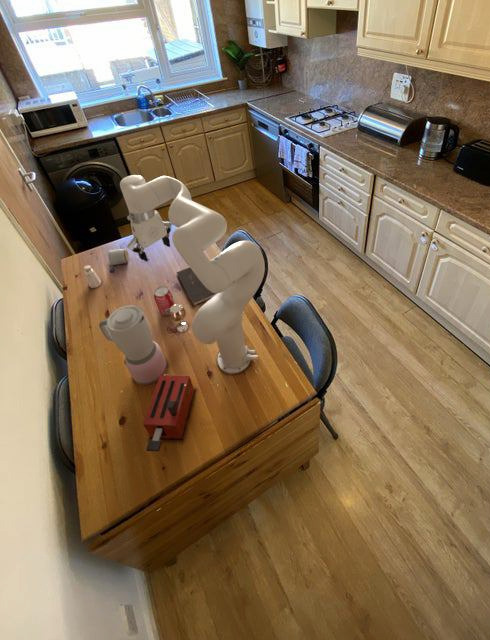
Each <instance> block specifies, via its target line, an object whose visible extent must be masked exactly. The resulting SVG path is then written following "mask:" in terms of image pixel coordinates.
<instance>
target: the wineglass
mask: <svg viewBox="0 0 490 640" xmlns="http://www.w3.org/2000/svg"><path fill="white" fill-rule="evenodd" d="M186 314H187V313H186V310H185V308H184V306H183V305H182V304H181V303H175V304H174V305H172V306H171V308H170V314H169V315H170V318H171V319H172V321H173V322H179V324H178V325H177V327H176V330H177V331H178V332H179V333H183V332H185V331H187V330H188V328H189V325H188V323H187V322H182V321H183V320H184V319H185V318H186Z"/></svg>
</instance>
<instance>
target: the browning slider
mask: <svg viewBox="0 0 490 640" xmlns="http://www.w3.org/2000/svg"><path fill="white" fill-rule="evenodd" d="M167 408H168V410H169V412H170V414H174V415H176V412H177V409H178V408H177V405H176V403H175V401H169V403H168V407H167Z"/></svg>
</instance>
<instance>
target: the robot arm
mask: <svg viewBox="0 0 490 640" xmlns="http://www.w3.org/2000/svg"><path fill="white" fill-rule="evenodd" d="M119 188H120V191H121V193H122V197H123V199H124V202H125V204H126V207H127V209H128V214H129V215H127V216H126V219H127V220H128V221H130V228H131V232H132V236H133V238H132V239H131V240H130V241H129V243H128V244H127V245H126V248H127V249H128V250H130V251H132V252H133V253H137V254H138V257H139V259H140V260H142V261H144V262H149V261H148V260H149V259H148V256H147V253H146V252H145V248H149V247H150V246H152V245H154V244H155V243H157V242H158V241H160V240H161V241H162V244H163V245H164V246H166V247H167V248H170V247H171V240H170V238H169V237H170V233H171V231H172V229H171V228H172V225H173V226H175V227H176V229H174V231H173V232H172V234H171V235H172V236H171V238H172V244H173V246H174V248H175V249H176V251H177V252H178V254H179V256H181V258H182V259H183V261H184V262H185V263H186V264H187V265H188V268H189V267H190V268H191V269H192V271H193V272H194V273H195V275H196V276H197V277H198V279H199V280H200V281H201V282H202V284H203V285H204V286H205V287H206V288H207V289H208V290H209V291H211V292H213V293H217V294H216V295H215V296H213V297H212V298H211V299H209V300H207V301H205V302H204V304H202V306H201V307H199V309H198V310H197V312H196V314H195V316H194V318H193V320H192V324H191V329H192V330H191V331H192V333H193V335H194V337H195V338H196V339H197V341H199V342H200V343H201V344H204V345H212V344H215V343H217V347H218V351H219V352H218V355H217V366H218V367H219V369H220V370H221V371H222V372H224V373H225V374H230V375H231V374H232V375H233V374H240V373H241V372H243V371H245V369H247V368H248V366H250V364H251V361H254V362H255V361H257V362H258V361H259V355H258V354H256V353H257V350H256V349H250V348H249V347H248V345H246V342H245V335H244V329H243V316H244V311H245V309H246V308H247V306H248V304H249V303H250V302H251V301H252V299H253V297H254V295H256V293H257V292H258V290H259V288H260V287H261V284H262V282H263V279H264V276H265V271H266V266H265V265H266V264H265V259H264V256H263V253H262V250H261V249H260V247H259V246H258V245H257V244H256V243H255V242H253V241H251V240H240V241H237V242H235V243H232V244H231V245H229V246H228V247H226V248H225V249H224V250H222V251H221V252H219V253H218V254H217V255H216V256H214V257H213V258H211V259H209V258H208V257H207V255H206V253H205V252H204V251H206V250H208V248H210V247H211V246H213V245H214V244H216V243H217V242H219V241H220V240H221V239H222V238H223V237H224V236H225V234H226V232H227V229H228V222H227V219H226V218H225V217H224V216H223V215H222V214H220V213H219V212H217V211H215V210H213V209H211V208H209V207H207V206H204V205H202V204H200V203H198V202H196V201H194V200H192V194H191V192H190V191H189V189H188V188H187V186H186V185H185V184H184V183H183V182H182V181H180V180H178V179H176V178H174V177H171V176H167V175H162V176H159V177H156V178H154V179H152V180H150V181H148V182H147V181H146V179H145V178H144V177H143V176H142V175H140V174H139V175H138V174H131V175H128V176H125V177H123V178H122V179H121V180H120V181H119ZM172 199H173V201H172V202H171V203H170V206H169V207H168V212H167V216H168V220H167V221H163V219H162V216H161V215H160V213H159V211H158V210H156V208H158V207H159V206H161V205H163V204H165V203H167V202H169V201H171V200H172ZM135 245H136V246H135Z"/></svg>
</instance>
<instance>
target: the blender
mask: <svg viewBox="0 0 490 640" xmlns="http://www.w3.org/2000/svg"><path fill="white" fill-rule="evenodd" d="M98 326H99V329H100V330H101V333H102V334H103V336H104V337H105V339H106V340H107V341H109V342H114V344H115V346H116V347H117V349H118V350H119V351H120V352H121V353H122V354H123V355H124V361H123V362H124V365H125V367H126V369H127V370H128V372H129V374H130V375H131V378H132V379H133V381H134V382H135V383H136V384H138V385H141V386H148V385H151V384H154V383H157V382H158V379H159V376H160V375H165V374H166V371H167V367H168V363H167V360H166V358H165V356H164V354H163V351H162V349H161V346H160V345H159V344H158V343H157V342H156V341H155V340H154V337H153V332H152V329H151V326H150V323H149V321H148V319H147V317H146V315H145V313H144V311H143V309H141V307H139V306H137V305H133V304H131V305H130V304H129V305H124V306H121V307H119V308H116V309H115V310H114V311H112V312H111V314H110V315H109V316H108V318H107V319H103V320H101V321H100V322H99V324H98Z"/></svg>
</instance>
